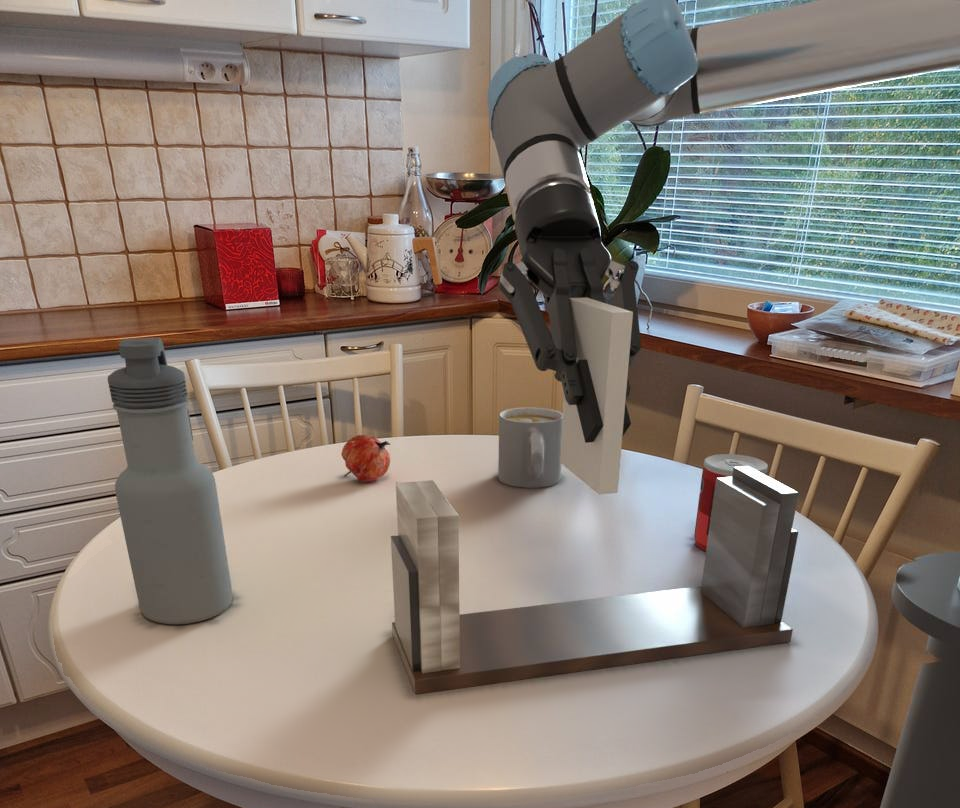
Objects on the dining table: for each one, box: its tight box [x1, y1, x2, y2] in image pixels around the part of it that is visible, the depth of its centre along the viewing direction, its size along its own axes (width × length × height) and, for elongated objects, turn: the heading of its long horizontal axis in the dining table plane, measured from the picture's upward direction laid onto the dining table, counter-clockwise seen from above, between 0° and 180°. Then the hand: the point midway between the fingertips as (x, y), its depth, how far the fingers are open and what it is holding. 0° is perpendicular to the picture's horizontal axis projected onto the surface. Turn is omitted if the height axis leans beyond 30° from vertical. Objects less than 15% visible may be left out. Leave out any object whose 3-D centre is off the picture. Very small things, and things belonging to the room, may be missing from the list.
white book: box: [560, 298, 633, 495], centre depth 75 cm, size 2×10×15 cm, turn 15°
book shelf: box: [390, 466, 799, 695], centre depth 83 cm, size 39×12×16 cm, turn 105°
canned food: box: [693, 453, 769, 552], centre depth 107 cm, size 8×8×11 cm
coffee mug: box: [497, 407, 563, 489], centre depth 131 cm, size 13×10×10 cm
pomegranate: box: [340, 434, 391, 483], centre depth 132 cm, size 7×7×10 cm
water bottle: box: [107, 337, 234, 625], centre depth 87 cm, size 10×10×28 cm
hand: (607, 432), depth 73 cm, fingers closed on white book, 2 cm apart
